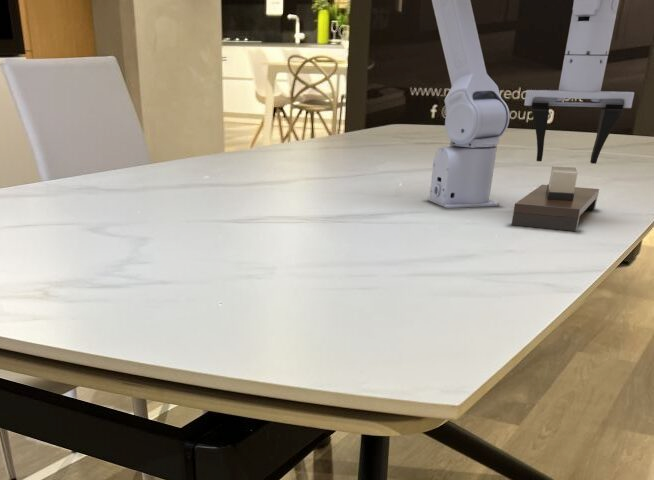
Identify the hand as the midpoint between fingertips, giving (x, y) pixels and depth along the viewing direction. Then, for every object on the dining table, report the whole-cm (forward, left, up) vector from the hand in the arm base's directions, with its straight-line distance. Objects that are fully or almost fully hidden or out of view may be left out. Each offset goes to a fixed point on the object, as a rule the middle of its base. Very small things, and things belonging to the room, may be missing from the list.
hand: (565, 161), depth 110 cm
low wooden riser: (0, 0, -8) cm, 8 cm away
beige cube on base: (0, 0, -5) cm, 5 cm away
